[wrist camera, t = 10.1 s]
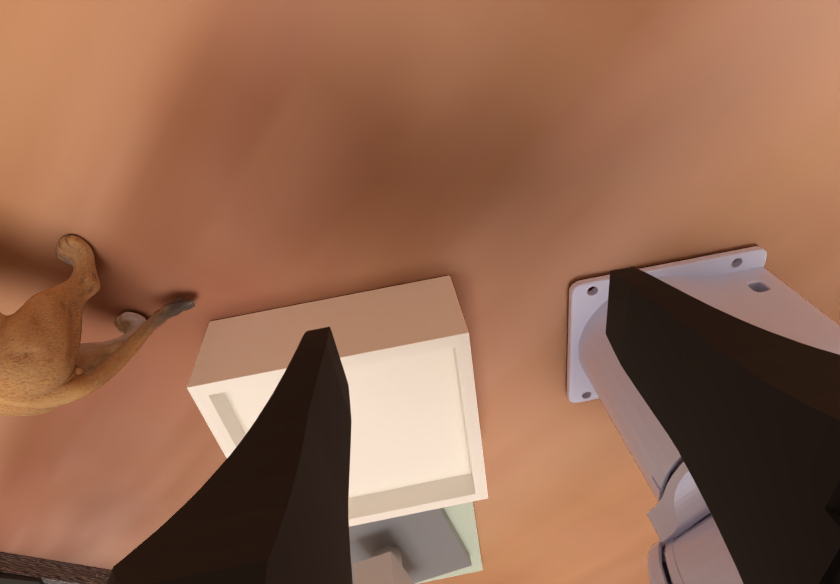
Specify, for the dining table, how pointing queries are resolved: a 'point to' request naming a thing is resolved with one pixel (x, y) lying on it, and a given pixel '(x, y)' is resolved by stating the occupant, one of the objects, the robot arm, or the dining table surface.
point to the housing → (365, 391)
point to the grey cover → (406, 549)
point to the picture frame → (47, 571)
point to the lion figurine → (66, 340)
